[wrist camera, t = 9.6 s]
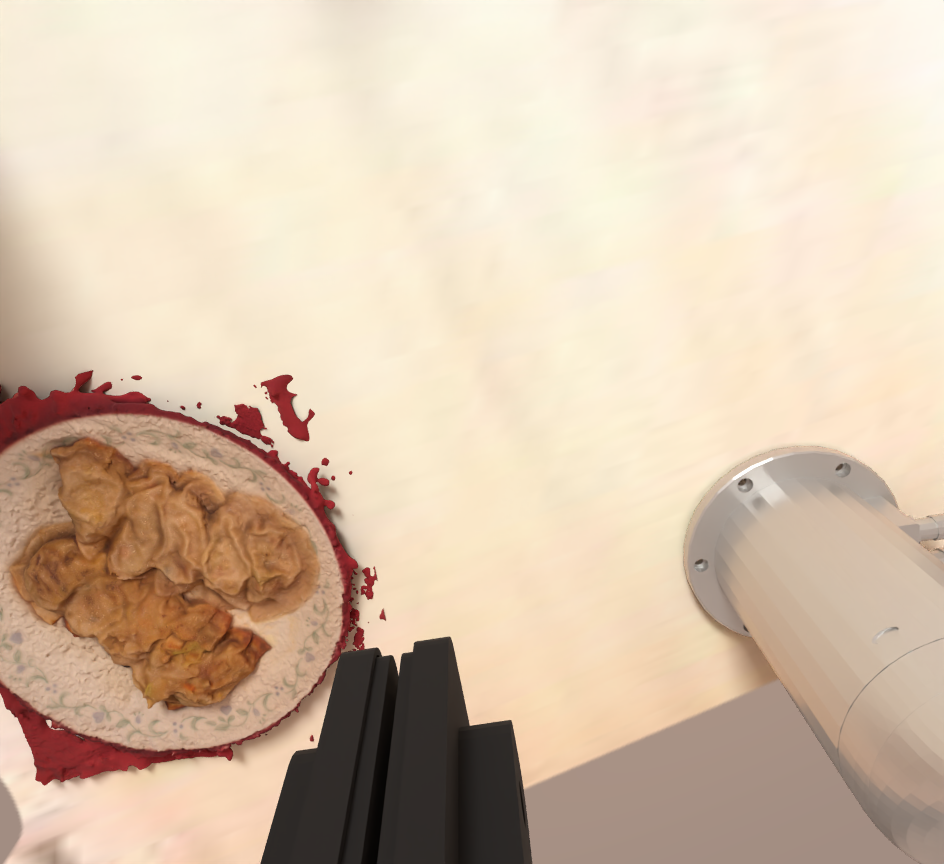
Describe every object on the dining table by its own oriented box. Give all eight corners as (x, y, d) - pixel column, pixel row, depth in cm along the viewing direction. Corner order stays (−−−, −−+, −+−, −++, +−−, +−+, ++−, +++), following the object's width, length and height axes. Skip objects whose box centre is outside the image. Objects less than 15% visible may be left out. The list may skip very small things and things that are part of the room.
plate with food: (53, 761, 49) (24, 805, 45) (-113, 396, 39) (-164, 418, 36) (408, 714, 48) (406, 755, 45) (330, 335, 39) (319, 352, 36)
